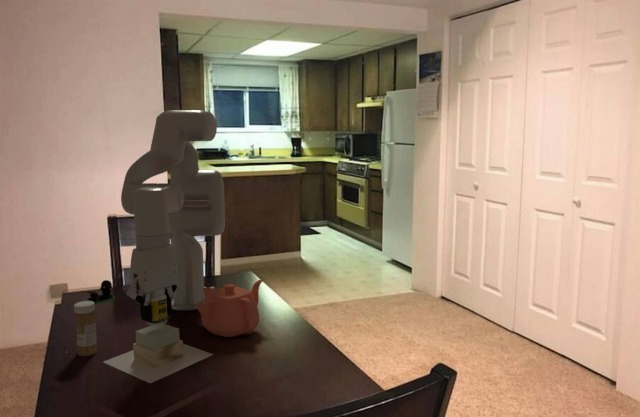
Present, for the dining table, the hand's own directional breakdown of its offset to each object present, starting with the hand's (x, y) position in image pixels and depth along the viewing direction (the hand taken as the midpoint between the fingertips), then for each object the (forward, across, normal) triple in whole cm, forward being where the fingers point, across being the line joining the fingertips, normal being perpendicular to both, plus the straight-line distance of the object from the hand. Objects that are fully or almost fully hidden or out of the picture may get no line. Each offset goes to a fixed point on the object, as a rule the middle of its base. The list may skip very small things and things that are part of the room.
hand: (156, 316), depth 123 cm
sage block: (+6, 0, 0) cm, 6 cm away
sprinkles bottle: (+11, +8, -17) cm, 22 cm away
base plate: (+11, 0, 0) cm, 11 cm away
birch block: (+10, 0, 0) cm, 10 cm away
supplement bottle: (+2, 0, 0) cm, 2 cm away
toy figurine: (+12, -19, -55) cm, 60 cm away
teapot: (+12, -24, 0) cm, 27 cm away
